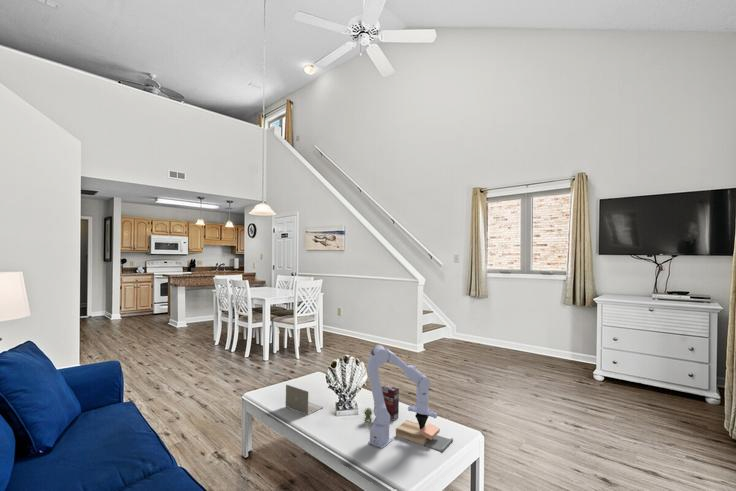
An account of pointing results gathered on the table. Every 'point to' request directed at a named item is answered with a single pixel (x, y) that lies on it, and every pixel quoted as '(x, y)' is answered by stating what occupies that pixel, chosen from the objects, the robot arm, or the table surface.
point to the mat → (439, 443)
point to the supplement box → (391, 401)
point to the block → (429, 431)
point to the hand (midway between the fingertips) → (422, 429)
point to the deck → (411, 432)
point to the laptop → (299, 401)
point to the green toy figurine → (368, 415)
